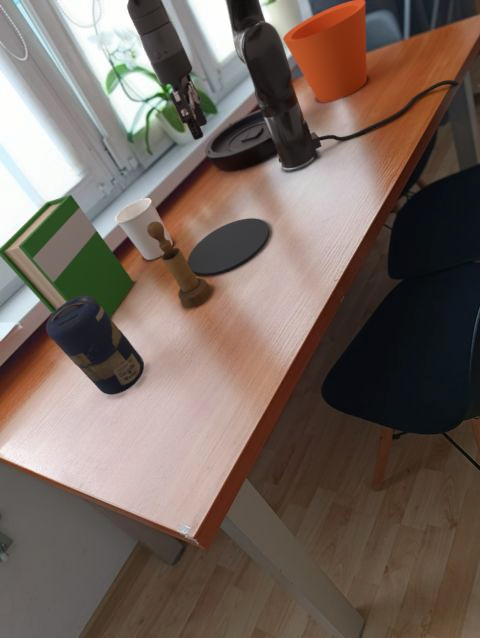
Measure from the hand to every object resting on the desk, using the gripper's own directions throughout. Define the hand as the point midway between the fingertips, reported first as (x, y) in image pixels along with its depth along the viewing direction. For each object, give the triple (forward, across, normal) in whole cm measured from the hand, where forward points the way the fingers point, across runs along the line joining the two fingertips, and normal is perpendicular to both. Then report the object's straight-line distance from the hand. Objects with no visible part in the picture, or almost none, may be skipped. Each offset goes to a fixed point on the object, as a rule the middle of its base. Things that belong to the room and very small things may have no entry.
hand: (201, 131), depth 108 cm
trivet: (+21, -16, +2) cm, 26 cm away
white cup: (+21, -4, +22) cm, 31 cm away
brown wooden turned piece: (+21, -31, +8) cm, 39 cm away
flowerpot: (+20, +58, -34) cm, 70 cm away
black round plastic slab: (+21, +38, -5) cm, 44 cm away
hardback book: (+22, -24, +33) cm, 46 cm away
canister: (+22, -50, +21) cm, 58 cm away
